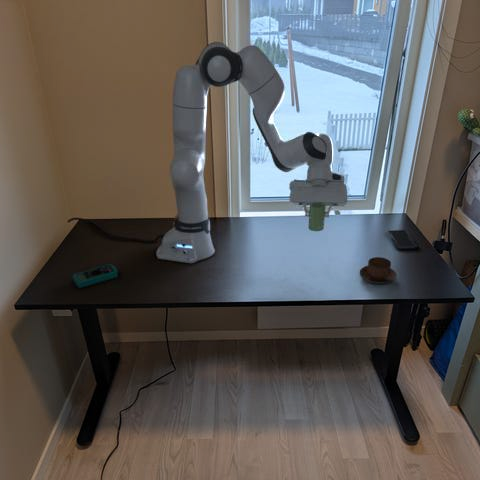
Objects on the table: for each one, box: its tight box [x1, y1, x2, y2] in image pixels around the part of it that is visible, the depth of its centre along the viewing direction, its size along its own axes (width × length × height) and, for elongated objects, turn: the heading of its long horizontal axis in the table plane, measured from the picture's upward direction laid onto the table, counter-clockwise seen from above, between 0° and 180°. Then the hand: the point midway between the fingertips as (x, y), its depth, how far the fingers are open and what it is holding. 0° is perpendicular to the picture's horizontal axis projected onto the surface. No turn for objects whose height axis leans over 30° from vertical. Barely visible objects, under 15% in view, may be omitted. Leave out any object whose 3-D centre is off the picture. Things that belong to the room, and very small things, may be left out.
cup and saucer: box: [359, 256, 397, 285], centre depth 156 cm, size 12×12×6 cm
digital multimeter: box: [72, 263, 119, 289], centre depth 163 cm, size 7×15×3 cm, turn 122°
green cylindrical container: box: [307, 203, 326, 232], centre depth 162 cm, size 5×5×8 cm
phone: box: [386, 229, 418, 251], centre depth 180 cm, size 8×1×15 cm
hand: (317, 216), depth 162 cm, fingers closed on green cylindrical container, 5 cm apart
